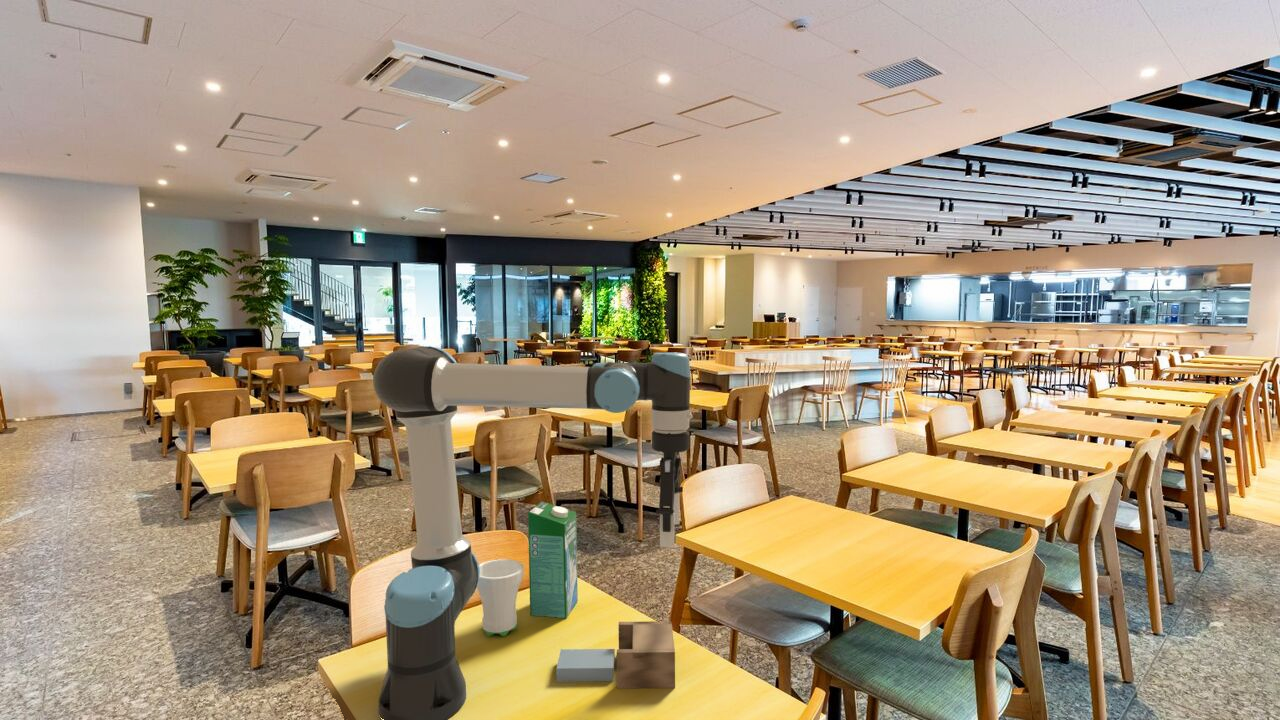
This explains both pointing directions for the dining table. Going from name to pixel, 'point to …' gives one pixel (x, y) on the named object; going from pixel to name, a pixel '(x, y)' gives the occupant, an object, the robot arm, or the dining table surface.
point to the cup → (499, 594)
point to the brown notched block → (646, 655)
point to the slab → (586, 665)
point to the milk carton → (552, 560)
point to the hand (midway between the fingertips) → (670, 534)
